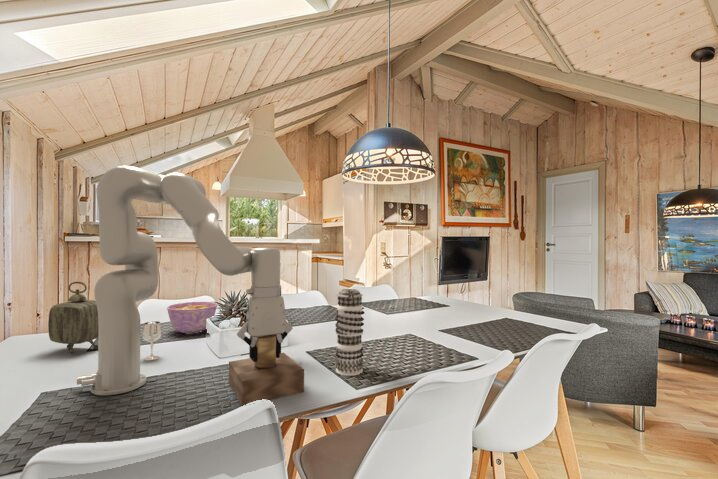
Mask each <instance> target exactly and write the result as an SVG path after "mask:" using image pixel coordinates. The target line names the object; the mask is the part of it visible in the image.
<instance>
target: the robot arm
mask: <svg viewBox="0 0 718 479" xmlns="http://www.w3.org/2000/svg"><path fill="white" fill-rule="evenodd" d="M96 186H97V187H96V201H97V208H98V228H99V229H98V230H99V231H98V233H99V235H98V236H99V252H100V257H101V260H102V261H103V262H104V263H105V264H107V265H111V266H124V269H119V270H115V271H110V272H108V273H105V274H104V275H102V276H101V277H100V278H98V280H97V281H96V283H95V285H94V289H93V293H94V300H96V305H97V310H98V332H99V336H98V338H97V339H98V344H97V345H98V349H97V351H98V354H97V355H98V359H97V362H98V364H97V372H95V373H94V372H93V373H92V374H91V375H81V376H77V378H76V385H81V387H84V386H85V387H86V386H88V385H91V386H90V393H92V395H95V396H113V395H121V394H125V393H128V392H131V391H134V390H137V389H139V388H141V387H142V386H143V385H146V383H147V376H146V375H145V374H144V373H143V374H142V373H141V316H140V315H141V314H140V311H139V307H138V306H137V303H136V302H139V301H143V300H147V299H148V298H151V297H152V296H153V295H154V294H155V293H156V291H157V290H158V285H159V263H158V261H159V259H158V257H159V256H158V248H157V244H156V242H155V240H154V238H153V237H152V236H150V234H148V233H145V232H141V231H138V227H137V220H138V218H137V213H136V210H135V207H134V206H133V203H132V200H140V201H144V202H150V203H155V204H163V205H164V204H165V205H170V207H171V208H172V209H173V210H174V211H175V212H176V213H177V214H178V215H179V217H180V218H181V219H182V220H183V221H184V223H185V224H186V225H187V227H188V229H190V230H191V233H192V237H193V239H194V240H195V244H196V245H197V248H198V249H199V251H200V252H201V254H203V257H205V258H206V260H207V261H208V262H209V263H210V264H211V265H212V267H214V269H215V270H217V271H218V272H220V274H222V275H225V276H229V277H230V276H231V277H232V276H237V275H240V274H245V273H251V286H250V288H249V289H246V290H245V293H246V295H249V296H251V297H248V303H247V308H246V314H245V315H246V316H245V317H246V318H245V323H244V324H243V325H242V326H241V328H240V329H239V330H238V331H237V333H236V336H237V337H238V338H240V340H242V341H244V342H245V343H246V344H247V345H248V346H249V356H248V357H249V358H250V359H252V360H253V362H256V361H257V347H256V341H257V338H258V337H261V336H268V335H276V358H279V357H280V354H281V353H282V343H283V342H284V340H285V338H286V337H287V336H288V334H289V333H290V332H291V331H292V330H293V326H292V325H291V324H290V323H289V322H288V321H287V317H286V315H287V314H286V306H285V301H284V296H282V295H281V296H280V285H281V251H280V249H279V248H277V247H269V246H268V247H265V246H264V247H251V246H239V245H238V246H235V245H234V243H233V242H232V241H231V240H230V239H229V237H228V236H227V235H226V233H224V231H223V230H222V228H221V226H220V224H219V217H220V213H219V211H218V209H217V208H216V207H215V206H214V205H213V204H212V202H210V200H209V199H208V198H207V197H206V196H207V192H206V191H207V190H206V188H205V186H204V184H203V183H202V181H200V180H198V179H197V178H195V177H193V176H189V175H187V174H184V173H181V172H172V173H168V174H166V175H163V174H157V173H154V172H150V171H148V170H145V169H142V168H140V167H137V166H132V165H120V166H115V167H112V168H110V169H109V170H107V171H106V172H105V173H104V174H103V175H102V176H101V177H100V179H99V180H98V183H97V185H96ZM245 333H247V334H248V335H249V337H248V336H247V335H245Z"/></svg>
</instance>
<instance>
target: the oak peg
mask: <svg viewBox="0 0 718 479" xmlns="http://www.w3.org/2000/svg"><path fill="white" fill-rule="evenodd" d="M256 347H257V361H256V362H255V368H258V369H259V370H261V369H269V368H272V367H274V366H276V335H268V336H261V337H258V338H257V341H256Z"/></svg>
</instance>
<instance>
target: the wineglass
mask: <svg viewBox="0 0 718 479" xmlns="http://www.w3.org/2000/svg"><path fill="white" fill-rule="evenodd" d="M162 333H163V330H162V325H161V322H160V321H157V320H156V321H155V320H153V321H147V322H144V323H143V326H142V331H141V337H142V339H143V340H144V341H145V342H148V343H150V344H149V345H150V356H147V357H144V358H143V360H144V361H154V360H158V359H160V356H159V355H154V353H153V352H154V350H153V349H154V348H153V347H154V342H157V341H158V340H159V339H160V338H161V337H162Z"/></svg>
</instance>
